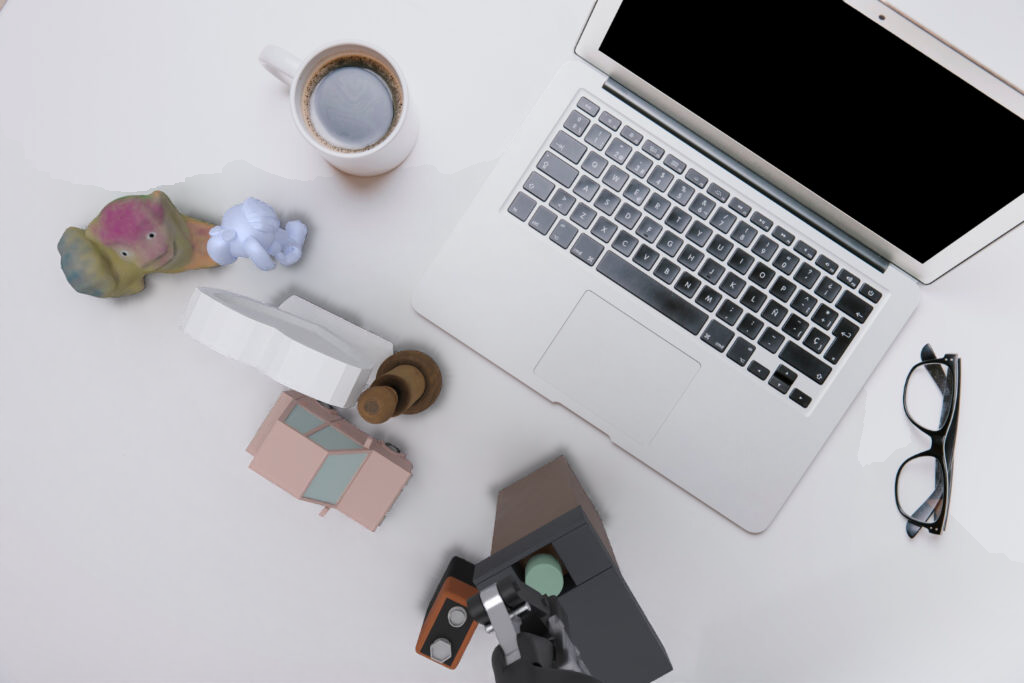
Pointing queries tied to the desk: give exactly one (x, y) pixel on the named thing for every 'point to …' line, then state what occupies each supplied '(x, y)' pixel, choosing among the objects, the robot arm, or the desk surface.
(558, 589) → the tare button
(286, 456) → the toy car
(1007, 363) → the desk surface
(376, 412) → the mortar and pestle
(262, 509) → the desk surface
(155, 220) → the sculpture
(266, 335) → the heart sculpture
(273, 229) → the toy figurine
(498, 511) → the dark grey tall block
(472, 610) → the robot arm
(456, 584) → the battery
